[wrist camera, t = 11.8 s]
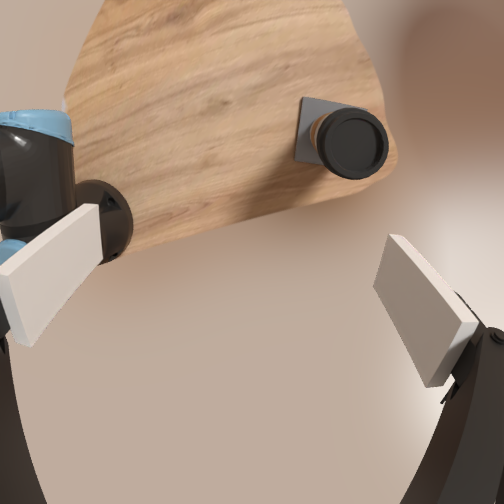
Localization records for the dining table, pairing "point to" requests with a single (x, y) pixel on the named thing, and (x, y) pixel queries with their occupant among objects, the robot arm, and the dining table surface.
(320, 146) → the coffee cup
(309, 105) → the coaster
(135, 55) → the dining table surface
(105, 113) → the dining table surface
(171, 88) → the dining table surface
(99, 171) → the dining table surface
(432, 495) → the robot arm
